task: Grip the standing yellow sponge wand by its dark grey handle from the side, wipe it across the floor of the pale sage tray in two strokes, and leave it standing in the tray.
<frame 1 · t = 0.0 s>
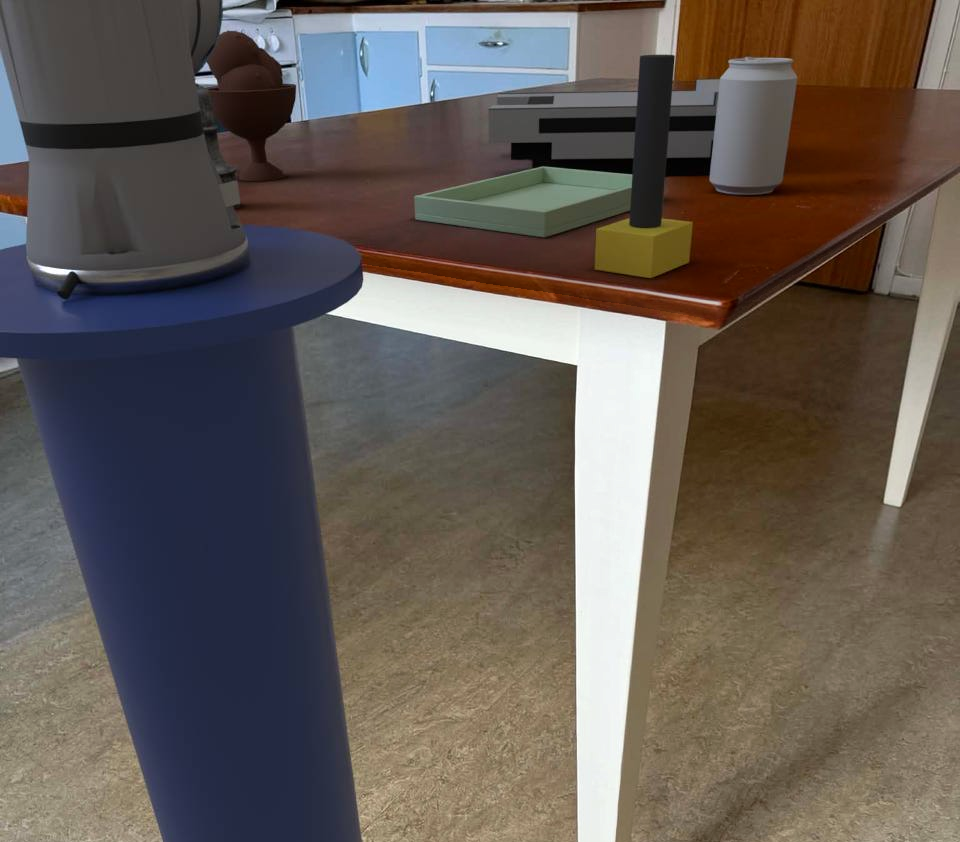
game console: (622, 164, 117), on the table
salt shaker: (214, 209, 98), on the table
tray: (543, 209, 93), on the table
sponge wand: (642, 266, 73), on the table
can: (744, 192, 100), on the table
ice cream bowl: (262, 179, 114), on the table
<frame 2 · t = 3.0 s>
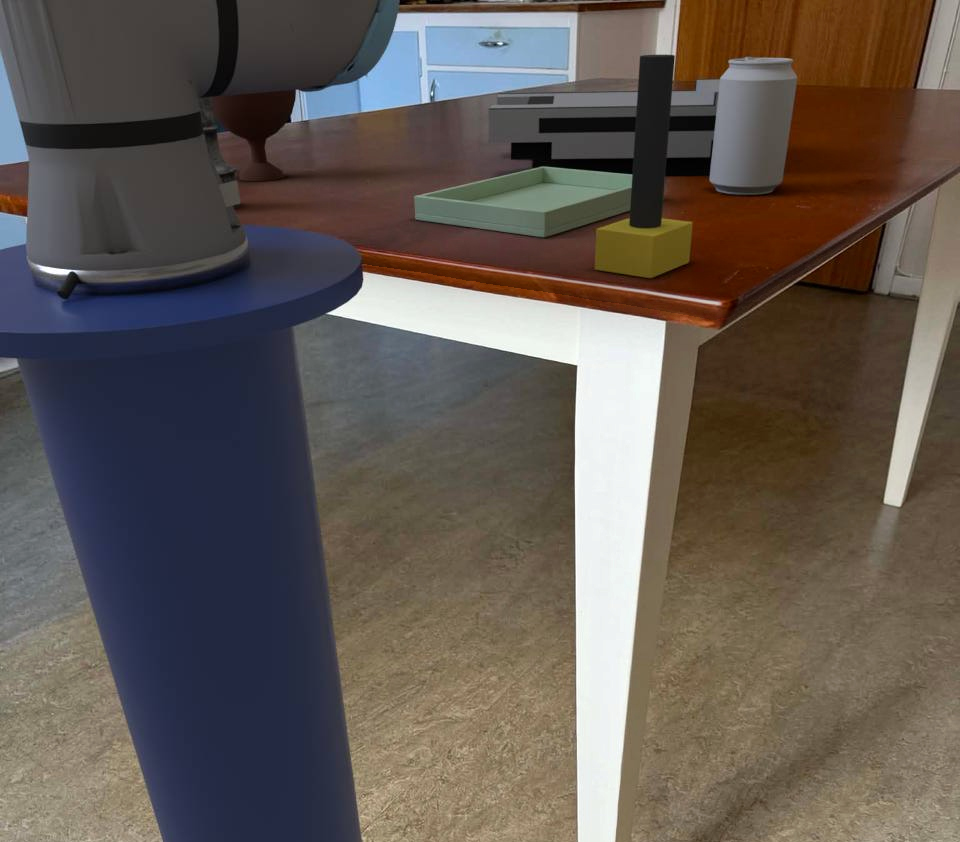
nothing on the table moved.
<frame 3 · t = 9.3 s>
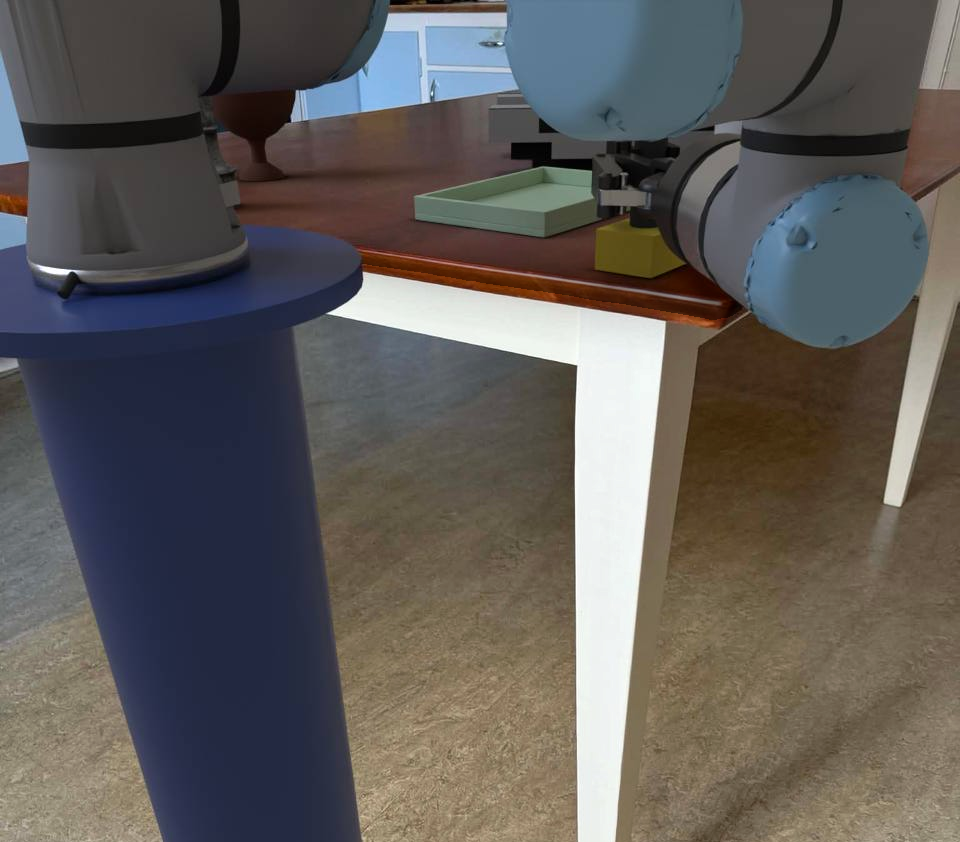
hand: (629, 156, 74), 7 cm above the table, tool horizontal, fingers closed on sponge wand, 2 cm apart
sponge wand: (642, 266, 73), on the table, touching gripper
everything else where it was.
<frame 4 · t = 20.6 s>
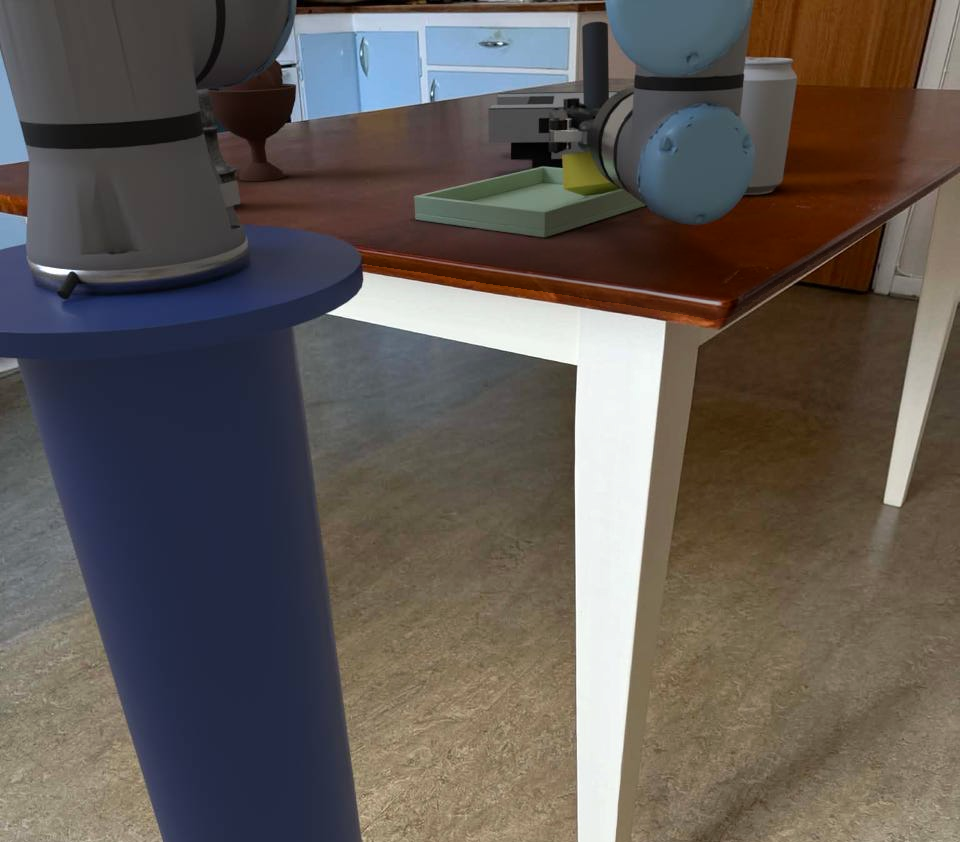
hand: (582, 113, 95), 8 cm above the table, tool horizontal, fingers closed on sponge wand, 2 cm apart
sponge wand: (597, 189, 92), point 2 cm above the table, tilted 18°, touching gripper, tray
everything else where it was.
when the fingers open (7 cm above the table, at t = 25.5 s): sponge wand drops 2 cm, resting on tray.
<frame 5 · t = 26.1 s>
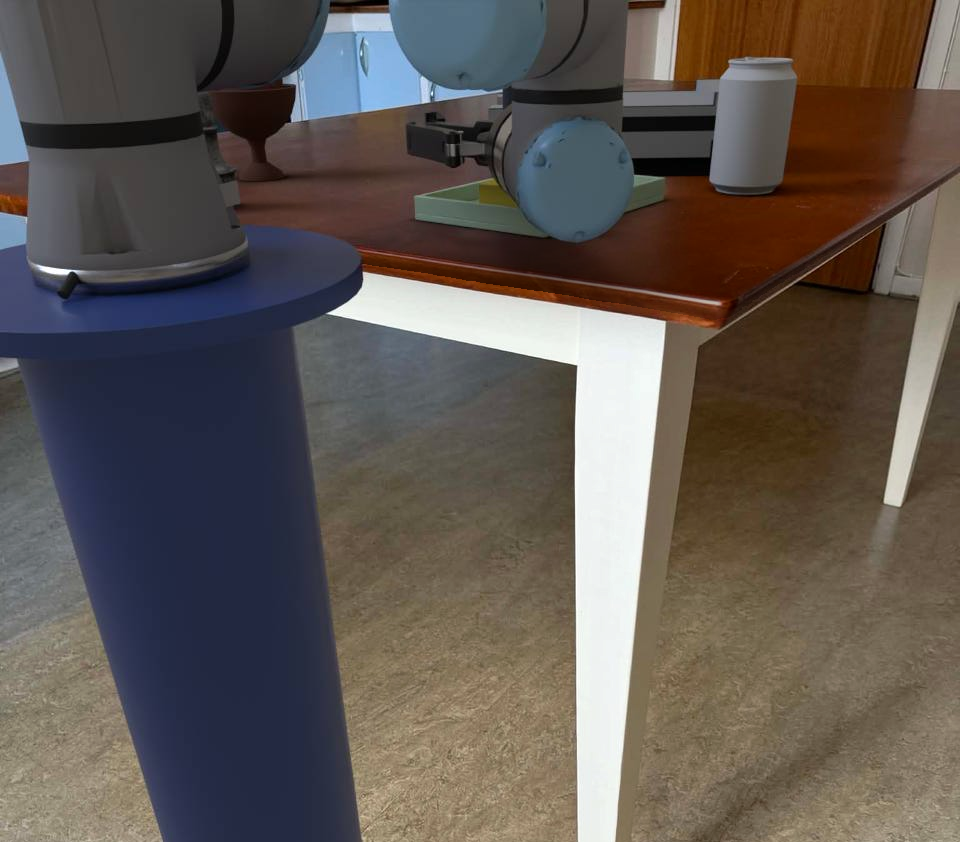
hand: (498, 124, 92), 7 cm above the table, tool horizontal, fingers open, 12 cm apart
sponge wand: (516, 215, 88), point 1 cm above the table, touching tray
everything else where it was.
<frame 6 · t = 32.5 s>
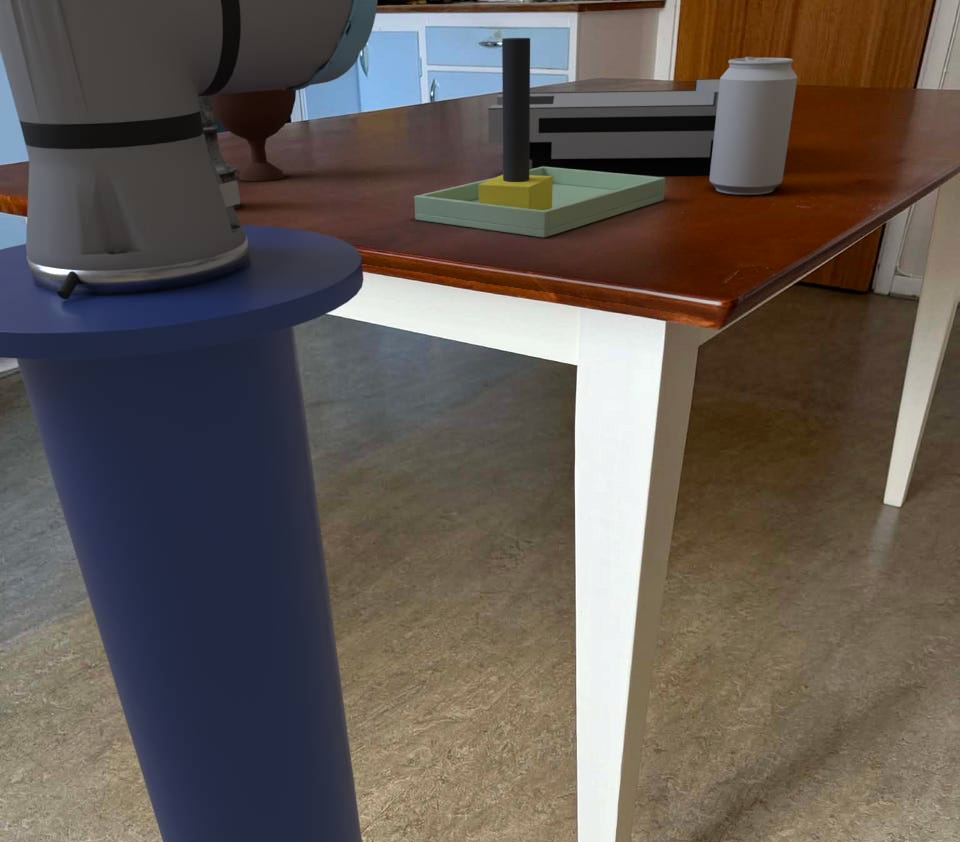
nothing on the table moved.
at the end: sponge wand inside the target area in the tray (6.4 cm from its centre), point 0.6 cm above the tray's base; sponge wand tilted 0°; the gripper is holding nothing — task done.
